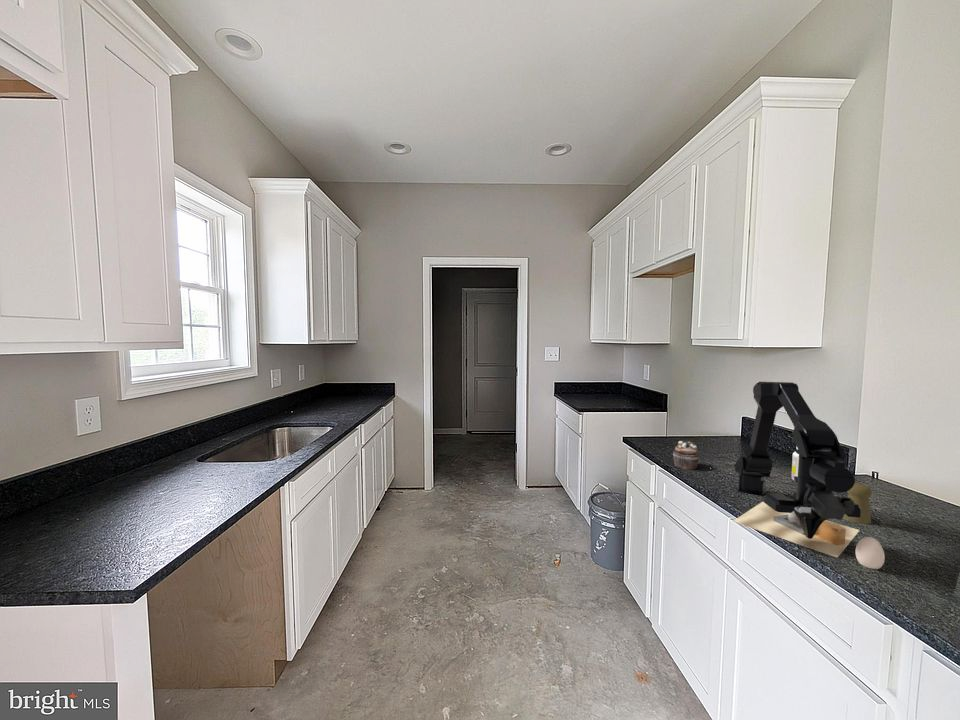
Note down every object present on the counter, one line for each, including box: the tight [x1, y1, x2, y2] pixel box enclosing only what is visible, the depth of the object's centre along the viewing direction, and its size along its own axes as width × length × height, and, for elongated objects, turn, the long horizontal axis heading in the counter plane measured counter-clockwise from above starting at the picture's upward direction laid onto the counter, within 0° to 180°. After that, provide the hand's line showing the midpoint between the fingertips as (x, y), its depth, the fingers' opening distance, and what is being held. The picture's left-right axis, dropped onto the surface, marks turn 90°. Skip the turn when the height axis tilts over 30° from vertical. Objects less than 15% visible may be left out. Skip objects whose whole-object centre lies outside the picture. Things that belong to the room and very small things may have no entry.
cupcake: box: [672, 439, 701, 470], centre depth 158 cm, size 10×10×10 cm
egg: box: [855, 536, 886, 570], centre depth 88 cm, size 5×5×7 cm
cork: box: [843, 482, 873, 525], centre depth 110 cm, size 6×6×11 cm
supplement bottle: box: [791, 445, 799, 482], centre depth 142 cm, size 7×7×13 cm
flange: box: [773, 514, 846, 545], centre depth 104 cm, size 14×8×4 cm, turn 15°
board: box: [732, 501, 860, 558], centre depth 107 cm, size 22×22×5 cm
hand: (808, 537), depth 99 cm, fingers closed
